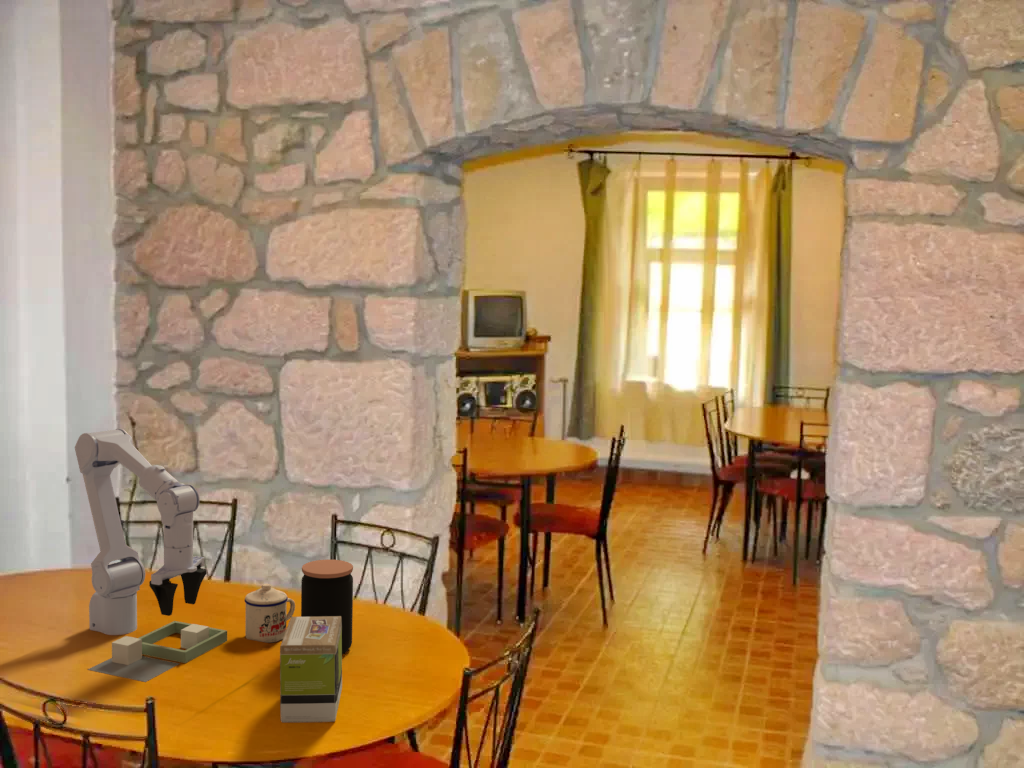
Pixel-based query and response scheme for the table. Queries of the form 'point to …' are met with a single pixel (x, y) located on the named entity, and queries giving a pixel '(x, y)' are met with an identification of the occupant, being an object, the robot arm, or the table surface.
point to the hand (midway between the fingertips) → (178, 608)
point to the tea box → (311, 669)
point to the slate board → (135, 668)
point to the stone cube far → (193, 635)
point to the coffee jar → (329, 593)
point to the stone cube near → (127, 650)
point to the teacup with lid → (267, 614)
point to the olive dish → (176, 654)
